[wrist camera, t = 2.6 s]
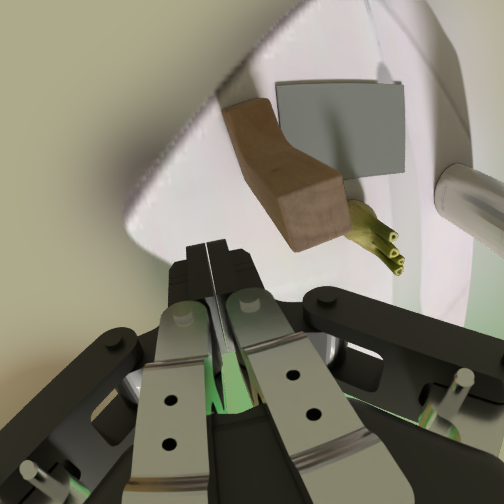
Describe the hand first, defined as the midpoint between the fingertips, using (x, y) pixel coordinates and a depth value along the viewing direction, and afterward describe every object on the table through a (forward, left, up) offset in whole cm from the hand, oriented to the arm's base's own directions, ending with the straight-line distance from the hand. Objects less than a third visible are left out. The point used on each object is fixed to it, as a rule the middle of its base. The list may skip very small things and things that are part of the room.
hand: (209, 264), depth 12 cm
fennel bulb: (-19, +11, -25) cm, 33 cm away
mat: (-18, 0, -25) cm, 31 cm away
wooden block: (-7, 0, -25) cm, 26 cm away
